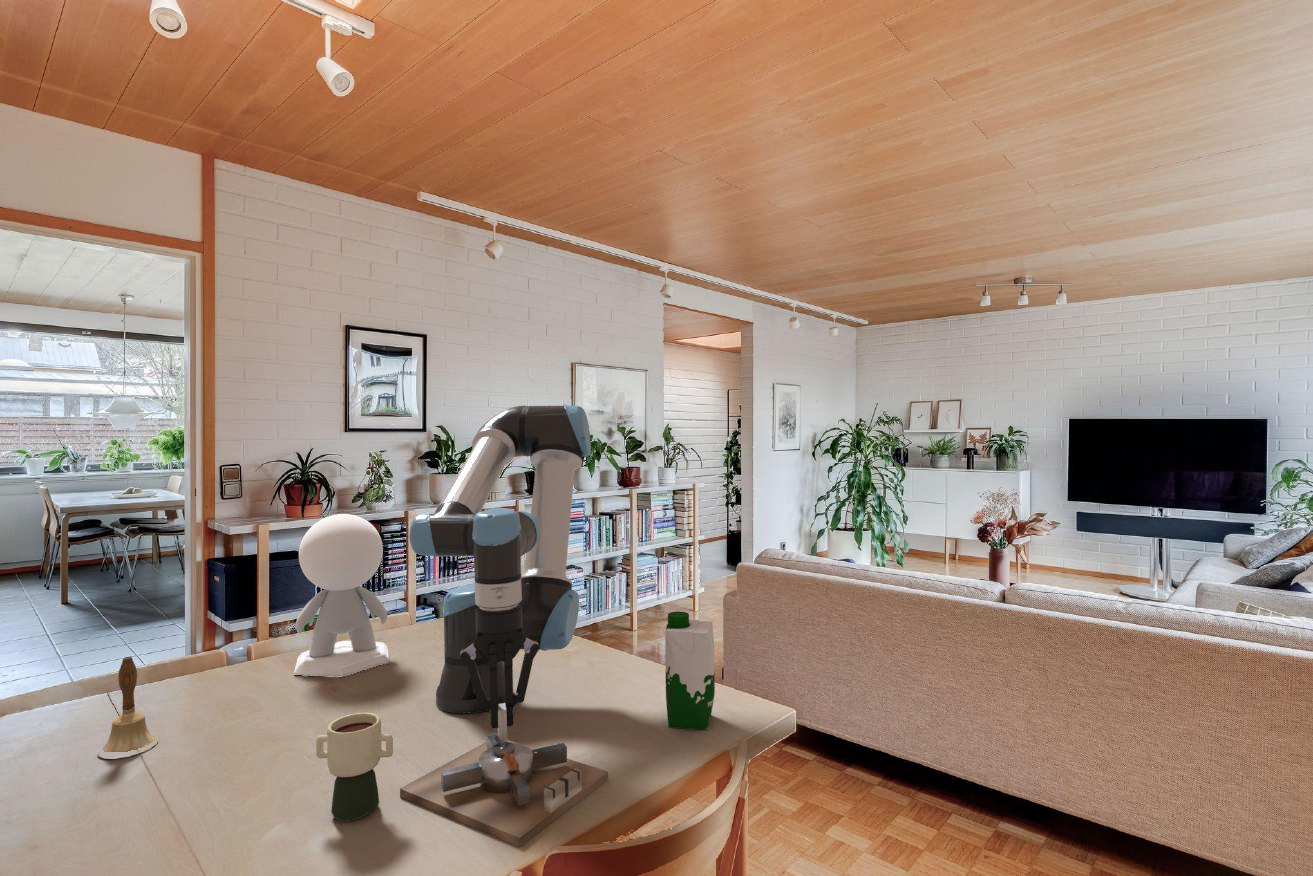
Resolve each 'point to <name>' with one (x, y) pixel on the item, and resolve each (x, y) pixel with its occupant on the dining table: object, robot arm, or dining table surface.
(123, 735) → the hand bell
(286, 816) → the dining table surface
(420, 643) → the dining table surface
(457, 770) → the four-spoke handwheel
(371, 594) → the big headed doll
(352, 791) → the character mug
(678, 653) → the milk carton
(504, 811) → the wooden mounting board
